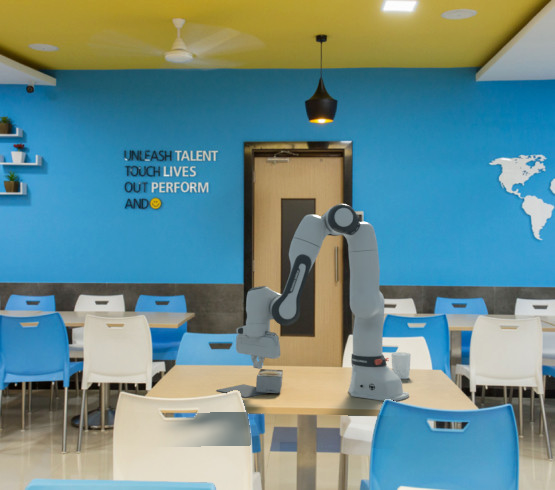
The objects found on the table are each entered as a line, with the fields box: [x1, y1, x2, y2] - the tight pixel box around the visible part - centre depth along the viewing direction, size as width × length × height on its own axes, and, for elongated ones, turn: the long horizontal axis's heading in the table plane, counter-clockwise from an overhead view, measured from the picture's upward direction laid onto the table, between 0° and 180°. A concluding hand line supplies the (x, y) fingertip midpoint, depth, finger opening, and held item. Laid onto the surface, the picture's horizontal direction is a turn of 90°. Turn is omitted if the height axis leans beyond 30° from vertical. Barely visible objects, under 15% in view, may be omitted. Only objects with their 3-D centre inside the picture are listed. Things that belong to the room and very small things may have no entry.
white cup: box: [391, 351, 412, 380], centre depth 246 cm, size 8×8×10 cm
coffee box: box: [255, 368, 283, 394], centre depth 221 cm, size 9×6×16 cm
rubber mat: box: [216, 384, 266, 399], centre depth 219 cm, size 16×14×1 cm
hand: (257, 368), depth 214 cm, fingers closed
